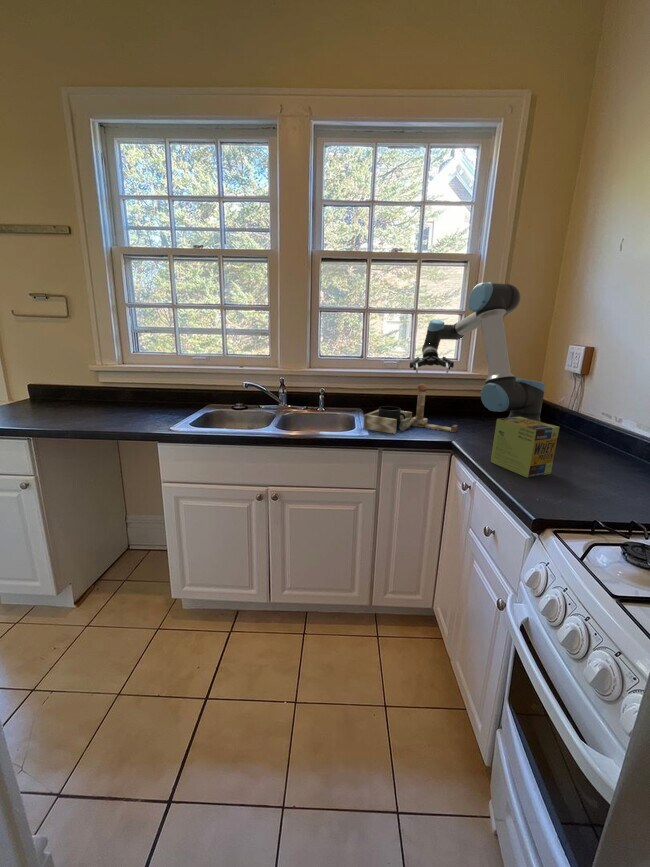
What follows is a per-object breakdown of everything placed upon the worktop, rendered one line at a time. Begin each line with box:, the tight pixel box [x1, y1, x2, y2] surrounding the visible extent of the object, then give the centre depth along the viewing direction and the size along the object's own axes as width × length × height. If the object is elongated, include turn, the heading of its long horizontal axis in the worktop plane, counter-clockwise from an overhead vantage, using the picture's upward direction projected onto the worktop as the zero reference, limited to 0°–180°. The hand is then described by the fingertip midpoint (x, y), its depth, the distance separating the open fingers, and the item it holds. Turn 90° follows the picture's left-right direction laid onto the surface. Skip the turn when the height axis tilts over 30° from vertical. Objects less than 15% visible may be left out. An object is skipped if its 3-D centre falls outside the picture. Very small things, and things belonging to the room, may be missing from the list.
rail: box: [411, 423, 459, 433], centre depth 178 cm, size 26×4×2 cm, turn 57°
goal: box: [362, 408, 413, 435], centre depth 176 cm, size 15×19×6 cm
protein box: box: [490, 416, 561, 479], centre depth 127 cm, size 10×15×16 cm
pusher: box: [399, 383, 428, 432], centre depth 173 cm, size 6×16×19 cm, turn 147°
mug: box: [378, 405, 405, 431], centre depth 173 cm, size 9×12×9 cm
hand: (432, 370), depth 181 cm, fingers open, 13 cm apart
